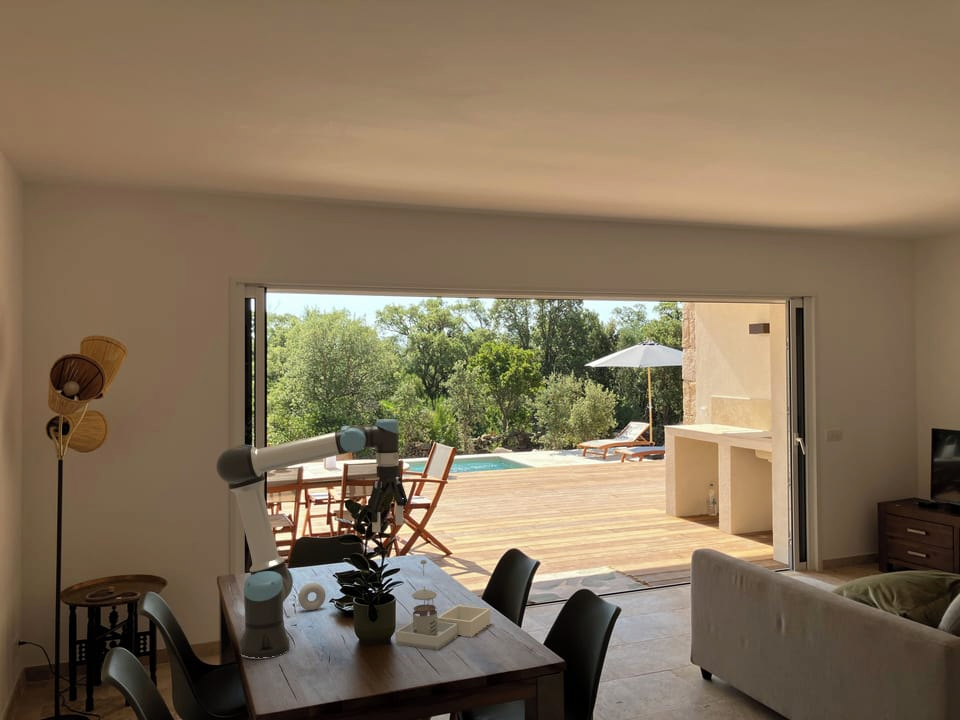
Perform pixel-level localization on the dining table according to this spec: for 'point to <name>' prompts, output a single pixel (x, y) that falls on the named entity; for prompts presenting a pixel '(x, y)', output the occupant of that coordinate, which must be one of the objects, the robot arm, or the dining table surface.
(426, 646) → the tray
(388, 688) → the dining table surface
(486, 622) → the cream open box
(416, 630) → the french press
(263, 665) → the dining table surface
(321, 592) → the donut
